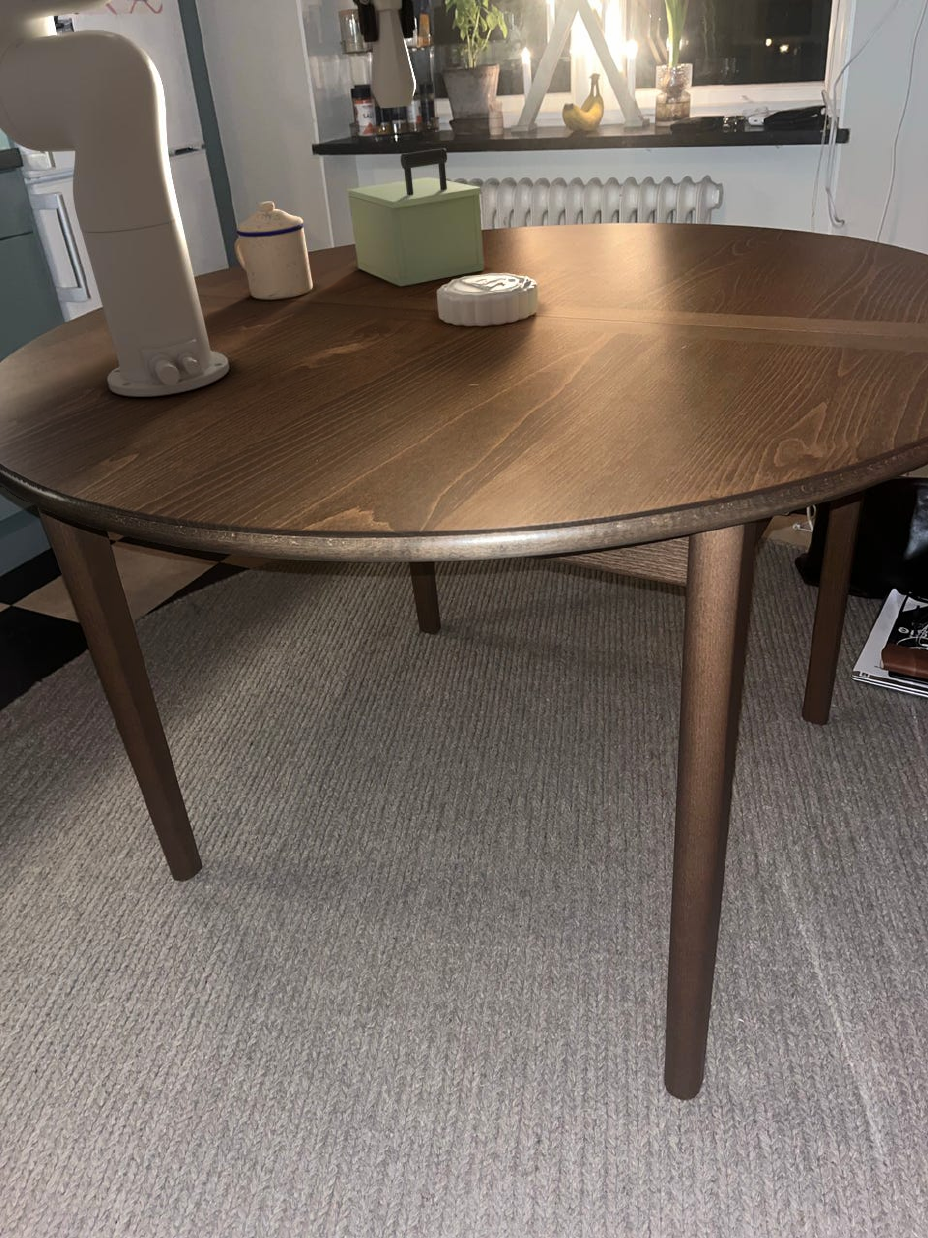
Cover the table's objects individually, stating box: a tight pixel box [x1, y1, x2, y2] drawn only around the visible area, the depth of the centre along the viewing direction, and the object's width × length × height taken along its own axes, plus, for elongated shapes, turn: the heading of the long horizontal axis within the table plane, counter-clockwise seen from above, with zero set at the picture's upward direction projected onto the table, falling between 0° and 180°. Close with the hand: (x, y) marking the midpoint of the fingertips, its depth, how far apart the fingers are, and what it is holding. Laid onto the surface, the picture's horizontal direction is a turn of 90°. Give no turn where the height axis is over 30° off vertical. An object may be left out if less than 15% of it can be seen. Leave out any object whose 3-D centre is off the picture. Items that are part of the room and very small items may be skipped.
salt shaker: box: [370, 0, 417, 109], centre depth 121 cm, size 6×6×13 cm
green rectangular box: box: [348, 194, 485, 287], centre depth 134 cm, size 16×13×10 cm
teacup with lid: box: [234, 200, 314, 301], centre depth 129 cm, size 12×9×12 cm
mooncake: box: [436, 272, 539, 327], centre depth 112 cm, size 12×12×4 cm
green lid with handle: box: [347, 147, 483, 208], centre depth 129 cm, size 17×13×6 cm
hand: (388, 38), depth 120 cm, fingers closed on salt shaker, 4 cm apart
